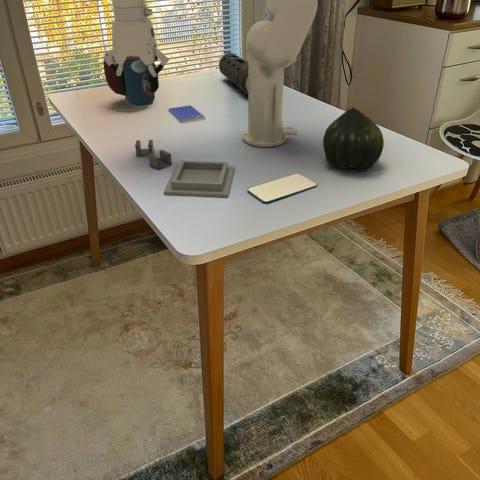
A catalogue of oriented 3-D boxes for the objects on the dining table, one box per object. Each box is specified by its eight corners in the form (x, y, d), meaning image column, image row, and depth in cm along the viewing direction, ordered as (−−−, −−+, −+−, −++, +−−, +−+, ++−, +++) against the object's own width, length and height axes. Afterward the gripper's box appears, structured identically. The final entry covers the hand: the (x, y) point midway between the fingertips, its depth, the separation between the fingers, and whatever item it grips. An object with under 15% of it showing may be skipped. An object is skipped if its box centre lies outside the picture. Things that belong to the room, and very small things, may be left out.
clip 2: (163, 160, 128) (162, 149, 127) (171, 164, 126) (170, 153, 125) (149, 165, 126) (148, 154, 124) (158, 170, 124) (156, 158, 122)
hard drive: (204, 116, 154) (191, 104, 163) (180, 120, 151) (168, 108, 160) (205, 121, 155) (191, 109, 164) (181, 124, 152) (168, 113, 161)
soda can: (153, 107, 121) (147, 58, 114) (125, 108, 121) (118, 58, 114) (157, 98, 127) (152, 51, 120) (131, 99, 127) (124, 51, 120)
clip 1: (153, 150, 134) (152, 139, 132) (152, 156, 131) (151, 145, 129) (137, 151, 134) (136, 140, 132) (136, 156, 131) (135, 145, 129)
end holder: (234, 169, 124) (234, 159, 123) (227, 197, 112) (227, 187, 110) (177, 166, 125) (176, 157, 124) (164, 194, 113) (163, 184, 112)
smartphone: (297, 176, 122) (245, 192, 114) (298, 172, 121) (245, 188, 114) (318, 188, 116) (265, 206, 109) (319, 184, 116) (265, 202, 108)
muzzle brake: (241, 78, 193) (240, 51, 187) (269, 98, 171) (269, 68, 166) (218, 80, 190) (217, 53, 184) (244, 102, 169) (244, 71, 163)
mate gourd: (132, 115, 157) (123, 51, 146) (101, 108, 163) (90, 46, 152) (162, 102, 168) (156, 41, 157) (132, 96, 174) (124, 37, 163)
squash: (365, 165, 113) (385, 106, 114) (307, 154, 120) (327, 98, 121) (376, 184, 125) (394, 130, 126) (323, 172, 132) (341, 122, 133)
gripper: (170, 11, 114) (177, 87, 124) (100, 11, 116) (112, 85, 126) (162, 17, 108) (170, 96, 118) (88, 16, 110) (101, 94, 120)
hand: (140, 90), depth 122 cm, fingers closed on soda can, 6 cm apart
